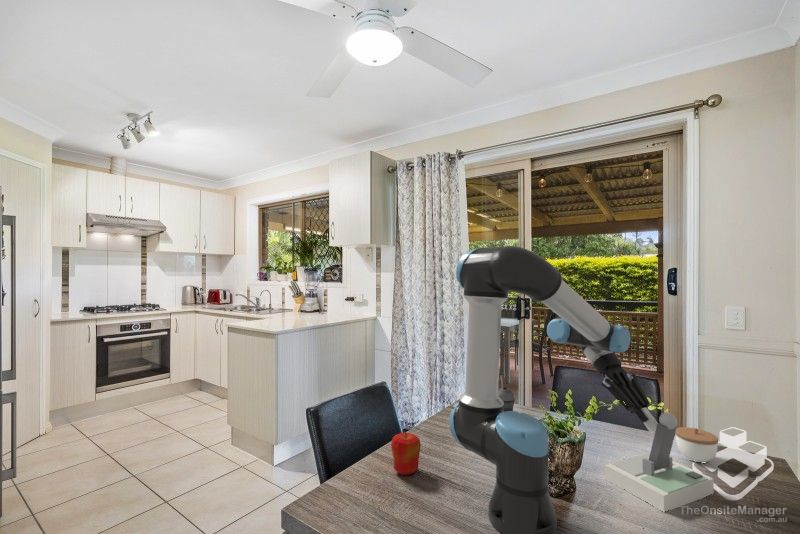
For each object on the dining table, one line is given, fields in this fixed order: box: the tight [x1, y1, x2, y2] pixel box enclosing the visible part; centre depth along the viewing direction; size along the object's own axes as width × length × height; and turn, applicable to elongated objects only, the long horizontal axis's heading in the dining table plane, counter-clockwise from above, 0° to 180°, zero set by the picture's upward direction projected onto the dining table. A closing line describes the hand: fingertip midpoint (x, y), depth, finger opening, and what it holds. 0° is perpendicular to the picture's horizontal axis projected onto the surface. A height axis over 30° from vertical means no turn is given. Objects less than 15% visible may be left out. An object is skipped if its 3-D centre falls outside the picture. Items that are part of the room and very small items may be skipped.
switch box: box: [604, 452, 715, 513], centre depth 103 cm, size 16×20×8 cm
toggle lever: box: [649, 412, 678, 471], centre depth 102 cm, size 4×5×16 cm
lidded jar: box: [674, 426, 719, 463], centre depth 119 cm, size 11×11×9 cm
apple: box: [390, 430, 421, 476], centre depth 111 cm, size 9×8×12 cm
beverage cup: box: [498, 375, 516, 412], centre depth 140 cm, size 7×7×20 cm
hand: (657, 432), depth 104 cm, fingers closed
